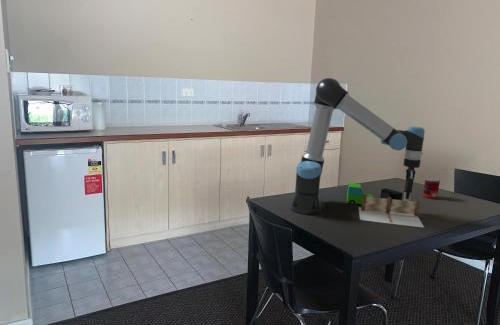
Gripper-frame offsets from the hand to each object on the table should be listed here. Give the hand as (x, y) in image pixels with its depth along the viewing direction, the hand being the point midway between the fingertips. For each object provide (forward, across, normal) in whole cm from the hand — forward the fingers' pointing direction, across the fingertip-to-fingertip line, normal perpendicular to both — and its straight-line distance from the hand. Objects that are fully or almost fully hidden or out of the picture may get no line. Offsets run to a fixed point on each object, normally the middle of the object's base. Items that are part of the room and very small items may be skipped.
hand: (406, 204), depth 196 cm
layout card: (+4, -12, +8) cm, 15 cm away
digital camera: (+5, +14, +7) cm, 16 cm away
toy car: (+5, +5, +22) cm, 23 cm away
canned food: (+5, +37, -16) cm, 41 cm away
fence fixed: (+4, -6, +14) cm, 16 cm away
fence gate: (+3, -5, +1) cm, 7 cm away
